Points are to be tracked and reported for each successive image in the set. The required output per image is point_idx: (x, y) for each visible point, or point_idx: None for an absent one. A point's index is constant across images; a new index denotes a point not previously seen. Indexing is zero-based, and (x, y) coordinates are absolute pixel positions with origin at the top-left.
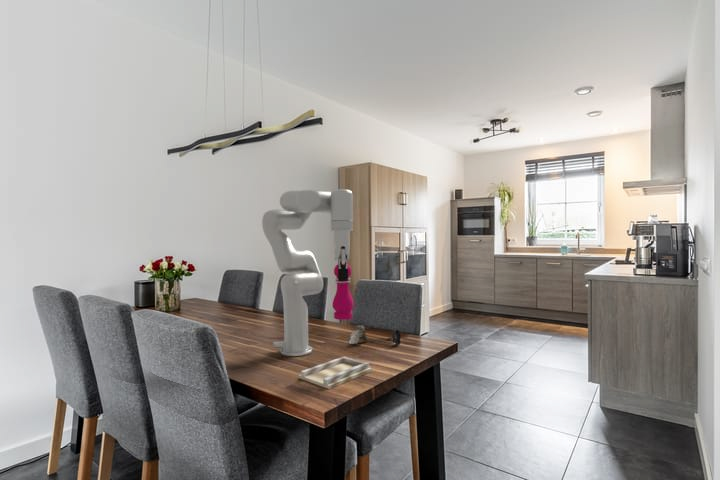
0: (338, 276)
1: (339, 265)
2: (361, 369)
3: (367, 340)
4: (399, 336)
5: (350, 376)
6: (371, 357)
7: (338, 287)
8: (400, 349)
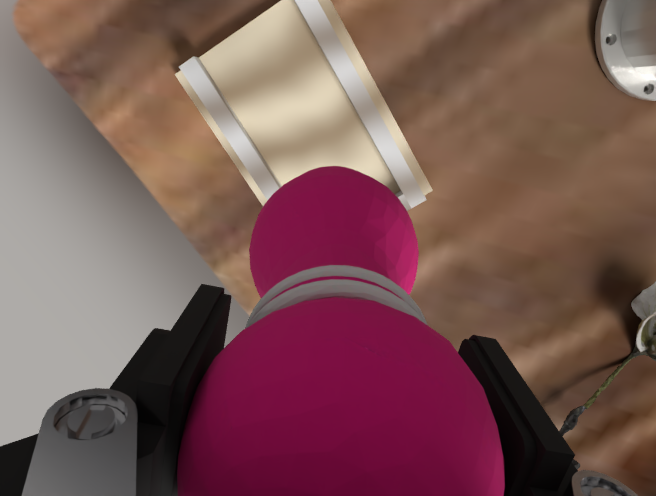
0: (185, 311)
1: (36, 453)
2: None
3: (636, 352)
4: None
5: (243, 172)
6: (441, 304)
7: (305, 265)
8: None
